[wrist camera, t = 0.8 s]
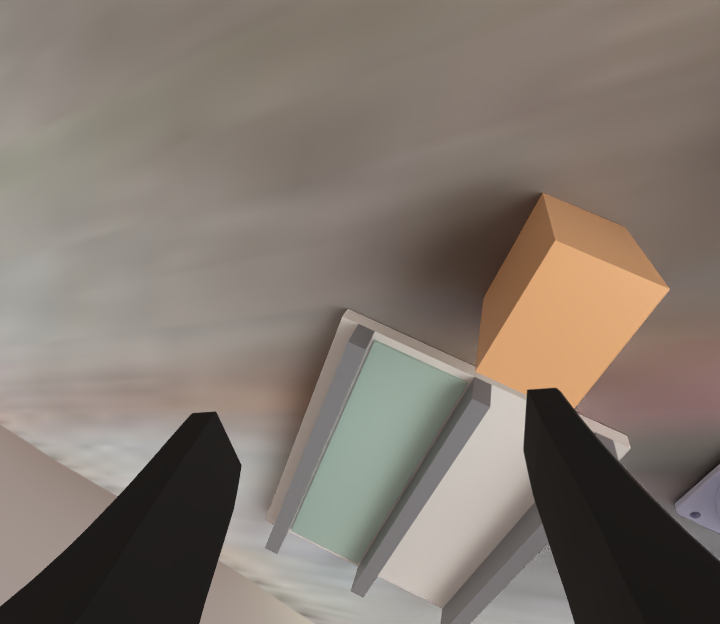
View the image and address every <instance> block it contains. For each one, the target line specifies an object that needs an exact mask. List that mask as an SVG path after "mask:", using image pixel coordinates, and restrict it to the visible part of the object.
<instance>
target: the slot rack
mask: <svg viewBox="0 0 720 624" xmlns="http://www.w3.org/2000/svg"><path fill="white" fill-rule="evenodd" d="M475 369H476V367H475V366H473V365H470V364H468V363H466V362H464V361H462V360H459V359H457V358H455V357H453V356H451V355H448V354H446V353H444V352H442V351H440V350H437V349H435V348H433V347H431V346H429V345H427V344H424V343H422V342H420V341H418V340H416V339H413V338H411V337H409V336H407V335H405V334H402V333H400V332H398V331H396V330H394V329H391V328H389V327H387V326H385V325H383V324H380V323H378V322H376V321H374V320H372V319H369V318H367V317H365V316H363V315H361V314H359V313H356V312H354V311H352V310H350V309H347V310H346V312H345V313H344V315H343V316H342V319H341V321H340V324H339V327H338V329H337V332H336V334H335V337H334V340H333V342H332V345H331V348H330V350H329V353H328V356H327V358H326V361H325V363H324V366H323V369H322V371H321V374H320V377H319V379H318V382H317V384H316V387H315V390H314V392H313V395H312V398H311V400H310V403H309V405H308V408H307V411H306V413H305V416H304V419H303V421H302V424H301V426H300V429H299V432H298V434H297V437H296V440H295V442H294V445H293V447H292V450H291V453H290V455H289V458H288V461H287V463H286V466H285V468H284V471H283V474H282V476H281V479H280V482H279V484H278V487H277V489H276V492H275V495H274V497H273V500H272V503H271V505H270V508H269V510H268V513H267V516H266V518H265V520H267V521H269V522H271V523H273V524H274V527H273V529H272V532H271V534H270V537H269V539H268V542H267V544H266V547H265V548H266V549H268V550H270V551H272V552H274V553H276V554H277V553H278V551H279V549H280V547H281V545H282V543H283V541H284V539H285V537H286V534H287V532H288V531H289V532H291V533H293V534H295V535H297V536H299V537H301V538H303V539H305V540H307V541H309V542H311V543H313V544H315V545H317V546H319V547H321V548H323V549H325V550H327V551H329V552H331V553H333V554H335V555H337V556H339V557H341V558H343V559H345V560H347V561H349V562H351V563H353V564H355V565H357V566H358V569H357V572H356V576H355V579H354V582H353V586H352V589H351V591H352V592H354V593H355V594H357V595H359V596H361V597H364V596H365V594H366V593H367V591H368V590H369V588H370V587H371V585H372V584H373V582H374V581H375V579H376V578H377V576H379V577H381V578H383V579H385V580H387V581H389V582H391V583H393V584H395V585H397V586H399V587H401V588H403V589H405V590H407V591H409V592H411V593H413V594H415V595H417V596H419V597H421V598H423V599H425V600H427V601H429V602H431V603H433V604H435V605H437V606H439V607H441V608H443V609H442V617H441V624H470V623H471V622H472V621H473V620H474V619H475V618H476V617H477V616H478V615H479V614H480V613H481V612H482V611H483V609H484V608H485V607H486V606H487V605H488V604H489V603H490V602H491V601H492V600H493V599H494V598H495V597H496V596H497V595H498V594H499V593H500V592H501V591H502V590H503V589H504V588H505V587H506V586H507V585H508V584H509V583H510V581H511V580H512V579H513V578H514V577H515V576H516V575H517V574H518V573H519V572H520V571H521V570H522V569H523V568H524V567H525V566H526V565H527V564H528V563H529V562H530V561H531V560H532V559H533V558H534V557H535V556H536V555H537V553H538V552H539V551H540V550H541V549H542V548H543V547H544V546H545V545H546V544H547V543H548V539H547V536H546V533H545V530H544V527H543V524H542V521H541V518H540V515H539V512H538V509H537V506H536V503H535V500H534V497H533V493H532V489H531V484H530V480H529V475H528V471H527V466H526V461H525V456H524V452H523V445H524V429H525V414H526V398H527V395H525V394H523V393H521V392H519V391H517V390H514V389H512V388H510V387H508V386H506V385H503V384H501V383H499V382H497V381H495V380H492V379H490V378H488V377H486V376H484V375H481V374H479V373H477V372H475ZM579 416H580V417H581V418H582V419H583V421H584V422H585V423H586V424H587V426H588V427H589V428H590V429H591V430H592V432H593V433H594V434H595V435H596V436H597V438H598V439H599V440H600V441H601V442H602V443H603V445H604V446H605V447H606V448H607V449H608V450H609V451H610V453H611V454H612V455H613V456H614V457H615V458H616V459H617V460H618V461H619V460H620V459H621V458H622V457H623V456H624V455H625V454H626V453H627V452H628V451H629V450H630V449H631V447H630V444H629V441H628V438H627V436H626V435H624V434H622V433H620V432H617V431H615V430H613V429H611V428H609V427H606V426H604V425H602V424H600V423H598V422H595V421H593V420H591V419H589V418H587V417H584V416H582V415H580V414H579Z"/></svg>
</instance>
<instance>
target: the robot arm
mask: <svg viewBox="0 0 720 624" xmlns="http://www.w3.org/2000/svg"><path fill="white" fill-rule="evenodd" d="M523 452H524V456H525V461H526V466H527V471H528V475H529V480H530V484H531V489H532V493H533V497H534V500H535V503H536V506H537V509H538V512H539V515H540V518H541V521H542V524H543V527H544V530H545V533H546V536H547V539H548V542H549V545H550V548H551V551H552V554H553V557H554V560H555V563H556V566H557V569H558V572H559V575H560V578H561V581H562V584H563V587H564V590H565V593H566V596H567V599H568V602H569V605H570V609H571V612H572V616H573V619H574V622H575V624H720V561H719V560H718V559H717V558H716V557H714V556H713V555H712V554H711V553H710V552H709V551H708V550H707V549H706V548H704V547H703V546H702V545H701V544H700V543H699V542H698V541H697V540H696V539H694V538H693V537H692V536H691V535H690V534H689V533H688V532H687V531H686V530H685V529H684V528H683V527H682V526H681V525H680V524H679V523H678V522H676V521H675V520H674V519H673V518H672V517H671V516H670V515H669V514H668V513H667V512H666V511H665V510H664V509H663V508H662V507H661V506H660V505H659V504H658V503H657V502H656V501H655V500H654V499H653V498H652V497H651V496H650V495H649V494H648V493H647V492H646V491H645V490H644V488H643V487H642V486H641V485H640V484H639V483H638V482H637V481H636V480H635V479H634V478H633V477H632V476H631V475H630V474H629V473H628V471H627V470H626V469H625V468H624V467H623V466H622V465H621V464H620V463H619V461H618V460H617V459H616V458H615V457H614V456H613V455H612V454H611V453H610V451H609V450H608V449H607V448H606V447H605V446H604V445H603V443H602V442H601V441H600V440H599V439H598V438H597V436H596V435H595V434H594V433H593V432H592V430H591V429H590V428H589V427H588V426H587V424H586V423H585V422H584V421H583V419H582V418H581V417H580V416H579V414H578V413H577V412H576V411H575V409H574V408H573V407H572V405H571V404H570V403H569V402H568V400H567V399H566V398H565V396H564V395H563V394H562V392H561V391H560V390H559V389H557V388H544V389H530V390H527V398H526V414H525V429H524V445H523ZM240 471H241V463H240V461H239V459H238V457H237V455H236V453H235V451H234V449H233V446H232V444H231V442H230V440H229V438H228V436H227V434H226V432H225V430H224V427H223V425H222V423H221V421H220V419H219V417H218V415H217V413H216V412H203V413H192V414H191V415H190V416H189V417H188V418H187V420H186V421H185V422H184V423H183V424H182V425H181V426H180V427H179V428H178V430H177V431H176V432H175V433H174V434H173V435H172V437H171V438H170V439H169V440H168V441H167V442H166V443H165V445H164V446H163V447H162V448H161V449H160V450H159V451H158V453H157V454H156V455H155V456H154V457H153V458H152V459H151V461H150V462H149V463H148V464H147V465H146V466H145V467H144V468H143V470H142V471H141V472H140V473H139V474H138V475H137V476H136V477H135V478H134V480H133V481H132V482H131V483H130V484H129V485H128V486H127V487H126V489H125V490H124V491H123V492H122V493H121V494H120V495H119V496H118V497H117V498H116V499H115V500H114V501H113V502H112V503H111V504H110V506H108V507H107V508H106V509H105V511H104V512H103V513H102V514H101V515H100V516H99V517H98V518H97V519H96V520H95V521H94V522H93V523H92V524H91V525H90V526H89V527H88V528H87V529H86V530H85V531H84V532H83V533H82V534H81V535H80V536H79V537H78V538H77V539H76V540H75V541H74V542H73V543H72V544H71V545H70V546H69V547H68V548H67V549H66V550H65V551H64V552H63V553H62V554H60V555H59V556H58V557H57V558H56V559H55V560H54V561H53V562H52V563H50V564H49V565H48V566H47V567H46V568H45V569H44V570H43V571H42V572H41V573H40V574H38V575H37V576H36V577H35V578H34V579H33V580H32V581H30V582H29V583H28V584H27V585H26V586H25V587H23V588H22V589H21V590H20V591H18V592H17V593H16V594H15V595H14V596H12V597H11V598H10V599H9V600H8V601H6V602H5V603H4V604H3V605H2V606H0V624H199V623H200V619H201V615H202V611H203V608H204V604H205V601H206V598H207V594H208V591H209V588H210V584H211V581H212V578H213V575H214V572H215V569H216V565H217V562H218V559H219V556H220V553H221V549H222V546H223V543H224V540H225V536H226V533H227V530H228V526H229V523H230V520H231V516H232V513H233V509H234V505H235V500H236V495H237V490H238V484H239V478H240ZM675 509H676V512H677V513H678V514H679V515H680V516H683V517H685V518H687V519H689V520H691V521H693V522H695V523H698V524H700V525H702V526H704V527H706V528H708V529H710V530H713V531H715V532H717V533H719V534H720V464H719V465H718V466H717V467H716V468H714V469H713V470H712V471H711V472H710V473H709V474H708V475H707V476H705V477H704V478H703V479H702V480H701V481H700V482H699V483H698V484H696V485H695V486H694V487H693V488H692V489H691V490H690V491H688V492H687V493H686V494H685V495H684V496H683V497H682V498H681V499H679V500H678V501H677V502H676V503H675ZM692 512H696V513H692Z"/></svg>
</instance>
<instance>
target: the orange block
mask: <svg viewBox="0 0 720 624" xmlns="http://www.w3.org/2000/svg"><path fill="white" fill-rule="evenodd" d="M669 290H670V289H669V287H668V286H667V285H666V283H665V282H664V280H663V279H662V278H661V276H660V275H659V274H658V272H657V271H656V269H655V268H654V267H653V265H652V264H651V262H650V261H649V260H648V258H647V257H646V255H645V254H644V253H643V251H642V250H641V249H640V247H639V246H638V244H637V243H636V242H635V240H634V239H633V237H632V236H631V235H630V233H629V232H628V230H627V229H626V228H625V227H623V226H621V225H618V224H616V223H614V222H611V221H609V220H606V219H604V218H602V217H599V216H597V215H595V214H592V213H590V212H588V211H585V210H583V209H580V208H578V207H576V206H573V205H571V204H569V203H566V202H564V201H561V200H559V199H557V198H554V197H552V196H550V195H547V194H545V193H542V195H541V197H540V198H539V200H538V202H537V204H536V205H535V207H534V209H533V211H532V213H531V214H530V216H529V218H528V220H527V222H526V223H525V225H524V227H523V229H522V230H521V232H520V234H519V236H518V238H517V239H516V241H515V243H514V245H513V246H512V248H511V250H510V252H509V254H508V255H507V257H506V259H505V261H504V263H503V264H502V266H501V268H500V270H499V271H498V273H497V275H496V277H495V279H494V280H493V282H492V284H491V286H490V287H489V289H488V291H487V293H486V295H485V296H484V298H483V306H482V315H481V324H480V333H479V342H478V351H477V360H476V369H475V372H477V373H479V374H481V375H484V376H486V377H488V378H490V379H492V380H495V381H497V382H499V383H501V384H503V385H506V386H508V387H510V388H512V389H514V390H517V391H519V392H521V393H523V394H525V395H527V390H530V389H544V388H557V389H559V390H560V391H561V392H562V394H563V395H564V396H565V398H566V399H567V400H568V402H569V403H570V404H571V405H572V407H573V408H575V407H576V406H577V405H578V403H579V402H580V401H581V400H582V398H583V397H584V396H585V395H586V393H587V392H588V391H589V390H590V388H591V387H592V386H593V385H594V383H595V382H596V381H597V380H598V378H599V377H600V376H601V375H602V373H603V372H604V371H605V370H606V368H607V367H608V366H609V365H610V363H611V362H612V361H613V360H614V358H615V357H616V356H617V355H618V353H619V352H620V351H621V350H622V348H623V347H624V346H625V345H626V343H627V342H628V341H629V340H630V338H631V337H632V336H633V335H634V333H635V332H636V331H637V330H638V328H639V327H640V326H641V325H642V323H643V322H644V321H645V320H646V318H647V317H648V316H649V315H650V313H651V312H652V311H653V310H654V308H655V307H656V306H657V305H658V303H659V302H660V301H661V300H662V298H663V297H664V296H665V295H666V293H667V292H668V291H669Z"/></svg>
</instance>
